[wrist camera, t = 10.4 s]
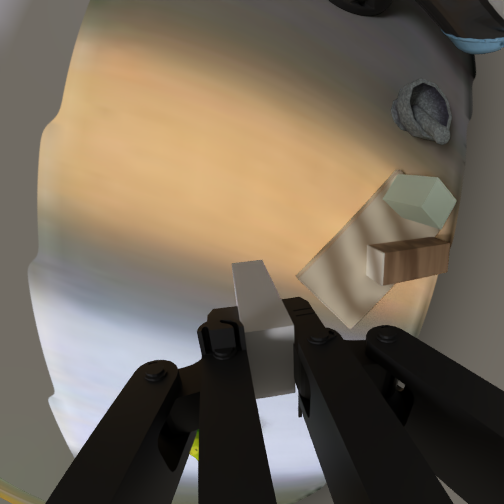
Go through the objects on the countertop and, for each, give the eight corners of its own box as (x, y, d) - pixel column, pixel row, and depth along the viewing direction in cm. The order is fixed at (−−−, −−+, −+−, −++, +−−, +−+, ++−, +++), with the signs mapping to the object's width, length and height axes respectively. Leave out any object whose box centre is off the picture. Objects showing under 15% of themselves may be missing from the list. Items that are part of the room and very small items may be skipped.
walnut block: (381, 286, 40) (447, 272, 42) (382, 253, 39) (450, 243, 40) (366, 275, 45) (430, 263, 46) (366, 244, 44) (432, 236, 45)
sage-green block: (397, 174, 41) (438, 177, 32) (416, 193, 43) (456, 200, 33) (382, 198, 42) (421, 207, 33) (401, 217, 43) (440, 229, 34)
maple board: (395, 169, 43) (400, 169, 41) (434, 229, 46) (439, 230, 45) (295, 275, 45) (298, 279, 44) (346, 325, 49) (350, 329, 48)
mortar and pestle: (390, 77, 39) (434, 58, 27) (430, 105, 40) (476, 96, 29) (374, 132, 41) (419, 124, 29) (416, 158, 43) (464, 159, 31)
